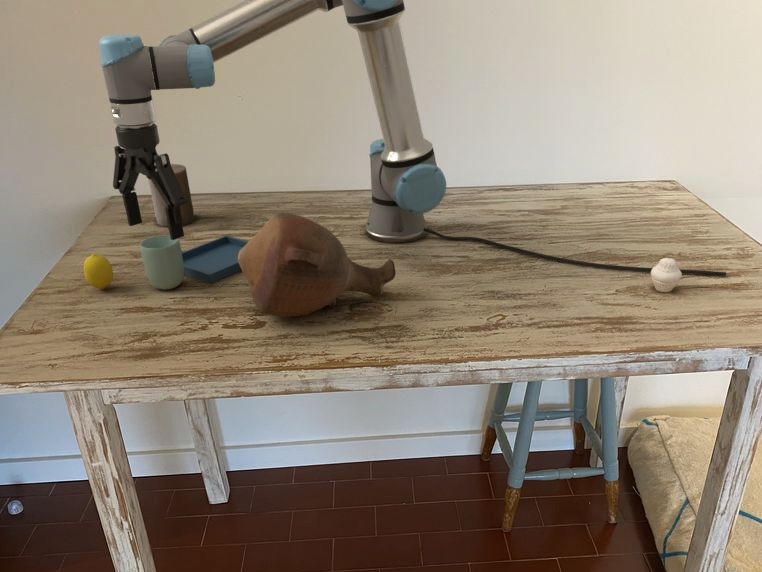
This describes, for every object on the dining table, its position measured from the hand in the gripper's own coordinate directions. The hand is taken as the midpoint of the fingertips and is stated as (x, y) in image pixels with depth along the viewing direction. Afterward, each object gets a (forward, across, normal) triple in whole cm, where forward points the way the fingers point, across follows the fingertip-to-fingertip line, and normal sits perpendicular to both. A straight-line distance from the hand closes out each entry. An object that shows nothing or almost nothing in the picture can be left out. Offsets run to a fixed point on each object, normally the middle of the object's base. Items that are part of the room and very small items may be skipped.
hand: (156, 231), depth 145 cm
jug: (+12, +34, +11) cm, 38 cm away
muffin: (+12, +87, +58) cm, 106 cm away
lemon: (+13, -10, -9) cm, 18 cm away
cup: (+12, 0, 0) cm, 13 cm away
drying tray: (+12, -1, +15) cm, 20 cm away
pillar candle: (+12, -32, +27) cm, 44 cm away
